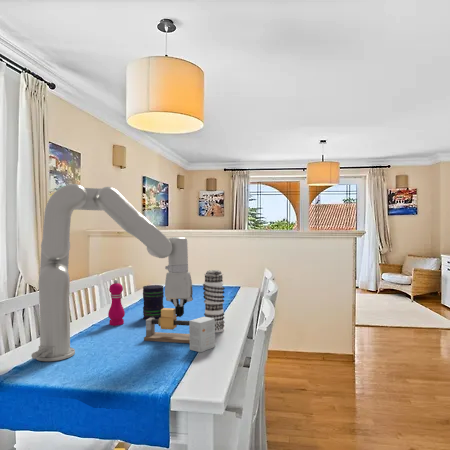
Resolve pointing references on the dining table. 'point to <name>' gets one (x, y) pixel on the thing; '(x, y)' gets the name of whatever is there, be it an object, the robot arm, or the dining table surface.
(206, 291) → the decorative candle
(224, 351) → the dining table surface
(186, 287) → the robot arm
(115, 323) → the pepper mill
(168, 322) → the wooden slider block
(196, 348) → the small box
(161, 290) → the storage jar
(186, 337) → the slider rail stand
